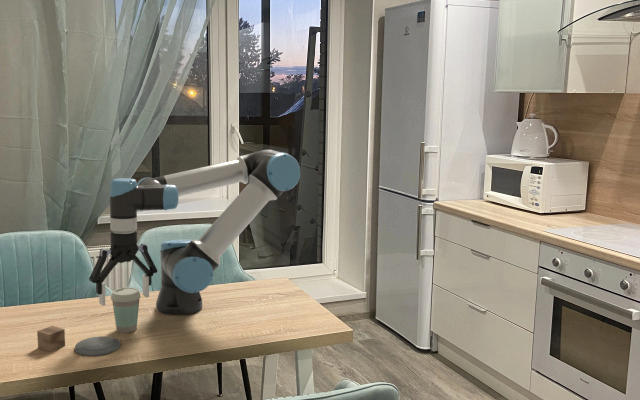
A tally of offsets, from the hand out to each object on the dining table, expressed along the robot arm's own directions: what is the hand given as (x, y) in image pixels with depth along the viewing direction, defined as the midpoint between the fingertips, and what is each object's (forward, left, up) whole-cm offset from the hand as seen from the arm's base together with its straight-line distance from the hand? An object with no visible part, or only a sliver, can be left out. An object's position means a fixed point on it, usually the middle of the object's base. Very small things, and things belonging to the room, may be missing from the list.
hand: (124, 300), depth 190 cm
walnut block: (+22, 0, -9) cm, 24 cm away
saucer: (+12, +8, -9) cm, 17 cm away
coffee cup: (0, 0, -9) cm, 9 cm away
